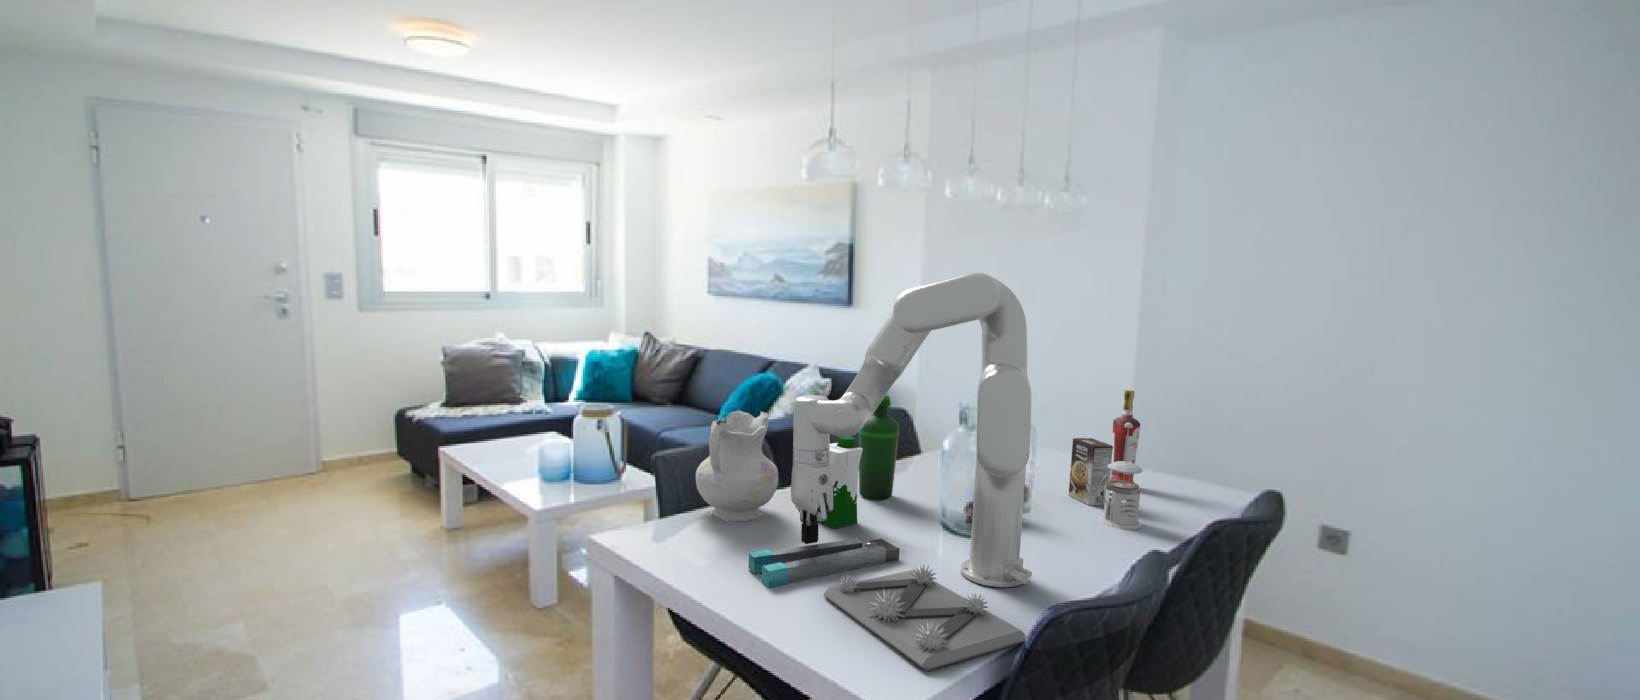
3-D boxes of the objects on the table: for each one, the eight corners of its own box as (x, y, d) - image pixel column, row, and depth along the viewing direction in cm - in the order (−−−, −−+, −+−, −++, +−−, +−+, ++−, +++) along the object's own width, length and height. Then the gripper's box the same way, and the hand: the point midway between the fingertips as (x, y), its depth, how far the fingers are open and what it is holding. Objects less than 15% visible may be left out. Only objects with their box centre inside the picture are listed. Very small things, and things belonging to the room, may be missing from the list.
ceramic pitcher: (760, 538, 168) (773, 429, 166) (676, 524, 171) (687, 416, 168) (780, 509, 190) (792, 412, 187) (705, 496, 193) (716, 400, 190)
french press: (1150, 527, 184) (1160, 425, 182) (1113, 531, 180) (1122, 427, 177) (1121, 514, 193) (1129, 417, 191) (1084, 518, 189) (1092, 419, 186)
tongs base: (880, 549, 162) (881, 534, 162) (899, 559, 157) (900, 544, 156) (752, 574, 146) (753, 558, 146) (768, 587, 140) (769, 570, 140)
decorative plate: (1029, 646, 123) (1032, 604, 123) (925, 678, 112) (927, 632, 111) (914, 578, 149) (916, 543, 148) (820, 599, 138) (822, 561, 137)
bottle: (902, 495, 202) (908, 391, 199) (884, 504, 193) (890, 396, 190) (867, 487, 208) (872, 386, 205) (847, 496, 199) (853, 390, 196)
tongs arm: (867, 550, 160) (867, 535, 160) (878, 558, 156) (879, 543, 156) (748, 567, 148) (748, 552, 148) (757, 576, 144) (757, 560, 144)
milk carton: (862, 523, 178) (866, 439, 176) (834, 531, 172) (838, 444, 170) (837, 513, 185) (841, 432, 183) (809, 520, 179) (812, 437, 177)
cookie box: (1067, 495, 208) (1071, 437, 207) (1087, 494, 210) (1091, 437, 209) (1088, 505, 200) (1093, 445, 198) (1108, 504, 202) (1113, 444, 200)
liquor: (1115, 481, 225) (1123, 387, 223) (1139, 487, 220) (1148, 391, 217) (1102, 484, 221) (1110, 389, 218) (1126, 491, 215) (1135, 393, 212)
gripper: (846, 461, 152) (844, 550, 154) (807, 446, 165) (806, 528, 167) (814, 465, 148) (813, 556, 150) (777, 450, 161) (776, 534, 163)
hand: (809, 541), depth 159 cm, fingers closed
